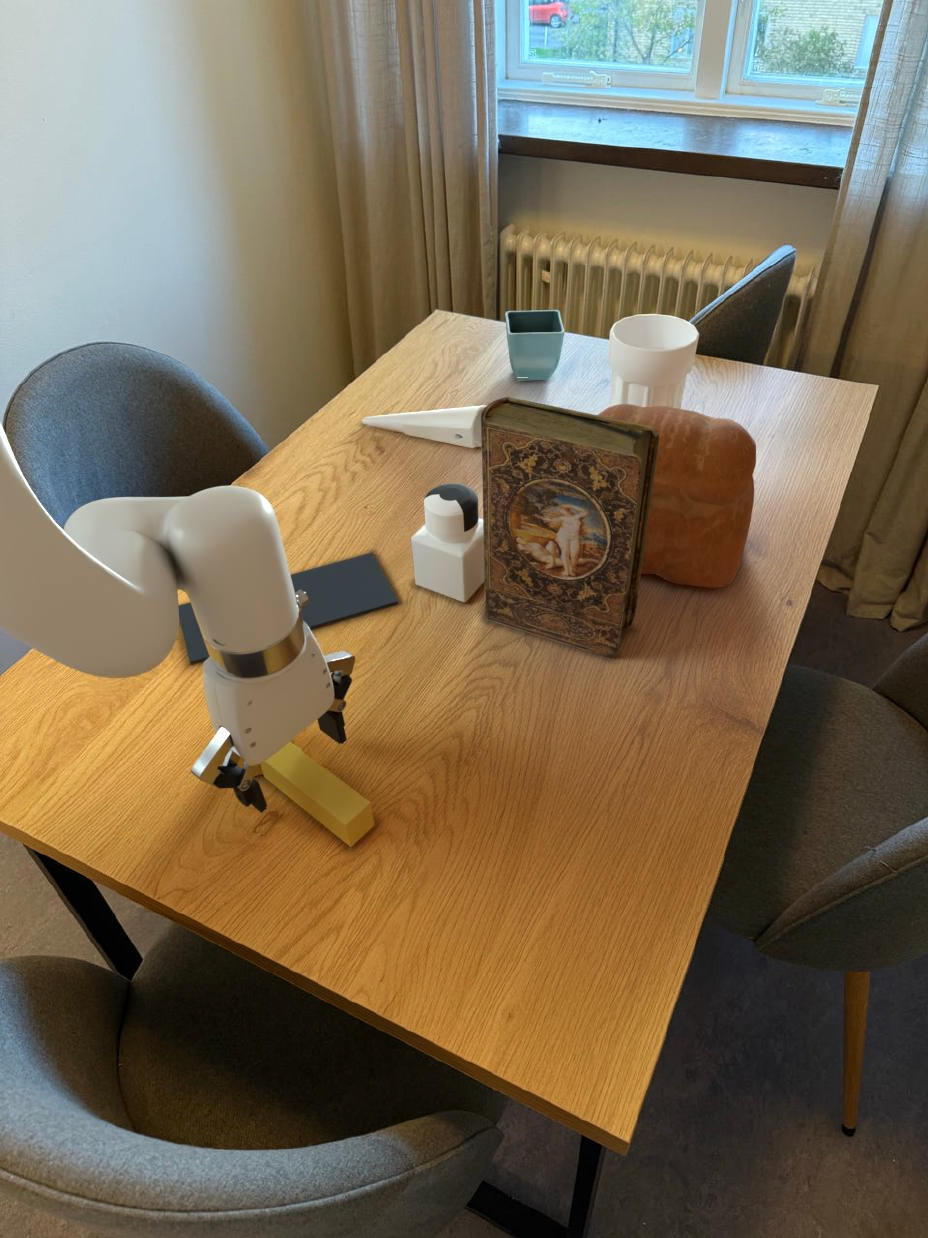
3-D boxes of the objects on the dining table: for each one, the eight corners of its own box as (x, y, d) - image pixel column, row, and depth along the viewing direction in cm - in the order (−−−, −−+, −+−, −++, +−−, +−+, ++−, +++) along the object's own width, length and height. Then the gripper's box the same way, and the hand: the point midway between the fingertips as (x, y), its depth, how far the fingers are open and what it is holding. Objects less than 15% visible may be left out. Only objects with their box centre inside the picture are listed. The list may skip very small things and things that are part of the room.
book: (478, 617, 94) (472, 420, 77) (498, 588, 98) (497, 394, 81) (617, 660, 89) (643, 458, 72) (633, 628, 92) (662, 428, 75)
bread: (730, 607, 94) (762, 482, 83) (548, 569, 100) (554, 447, 89) (750, 520, 106) (779, 400, 95) (586, 490, 112) (595, 374, 101)
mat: (190, 664, 91) (189, 662, 90) (177, 608, 97) (176, 605, 97) (398, 603, 97) (398, 600, 96) (372, 554, 104) (372, 552, 103)
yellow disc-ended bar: (386, 814, 76) (382, 791, 73) (338, 859, 73) (332, 837, 70) (260, 718, 85) (253, 695, 82) (212, 755, 81) (203, 732, 79)
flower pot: (556, 361, 140) (559, 308, 134) (562, 386, 134) (565, 332, 128) (504, 363, 140) (504, 310, 134) (507, 388, 134) (507, 334, 128)
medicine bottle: (445, 552, 103) (440, 470, 95) (495, 569, 101) (494, 486, 92) (414, 585, 99) (405, 501, 91) (465, 604, 96) (461, 520, 88)
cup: (662, 478, 114) (680, 358, 102) (586, 457, 118) (595, 339, 106) (691, 440, 120) (711, 323, 109) (619, 421, 125) (631, 307, 113)
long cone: (385, 416, 132) (494, 430, 124) (364, 439, 128) (475, 455, 120) (376, 384, 128) (488, 396, 120) (354, 407, 124) (468, 421, 116)
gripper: (306, 561, 72) (335, 694, 84) (133, 677, 63) (194, 808, 74) (367, 597, 68) (389, 730, 80) (193, 726, 59) (246, 855, 71)
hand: (295, 767), depth 77 cm, fingers open, 9 cm apart
